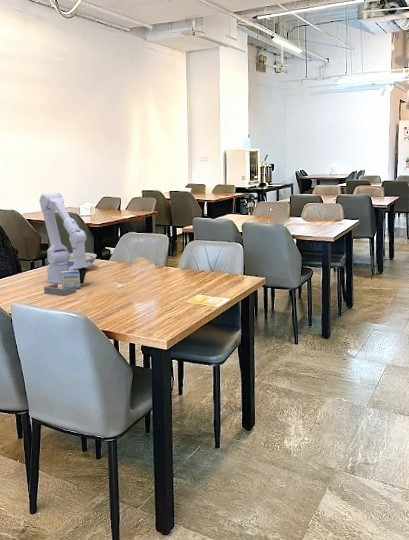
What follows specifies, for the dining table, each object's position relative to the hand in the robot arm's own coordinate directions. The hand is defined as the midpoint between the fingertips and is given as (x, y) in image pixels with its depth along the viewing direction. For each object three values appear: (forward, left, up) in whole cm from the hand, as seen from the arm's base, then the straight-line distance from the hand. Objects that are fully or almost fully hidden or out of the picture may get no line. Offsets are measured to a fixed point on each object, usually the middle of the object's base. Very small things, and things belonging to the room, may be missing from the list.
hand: (81, 283), depth 256 cm
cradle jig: (0, -15, -1) cm, 15 cm away
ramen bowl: (-28, +30, -1) cm, 41 cm away
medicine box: (0, -7, -1) cm, 7 cm away
